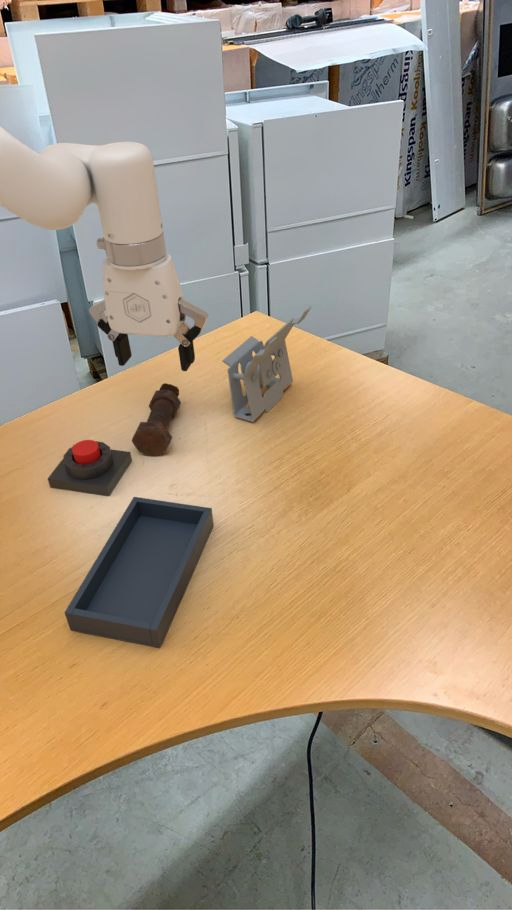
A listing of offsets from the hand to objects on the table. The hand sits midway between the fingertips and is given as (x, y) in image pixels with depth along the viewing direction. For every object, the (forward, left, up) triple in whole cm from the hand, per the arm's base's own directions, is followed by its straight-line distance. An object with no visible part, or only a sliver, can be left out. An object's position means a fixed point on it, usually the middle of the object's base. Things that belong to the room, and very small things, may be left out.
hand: (156, 363), depth 95 cm
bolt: (0, 0, -11) cm, 11 cm away
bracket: (+14, +10, -11) cm, 20 cm away
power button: (-6, -13, -8) cm, 17 cm away
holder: (+9, -29, -11) cm, 32 cm away
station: (-6, -13, -11) cm, 18 cm away
